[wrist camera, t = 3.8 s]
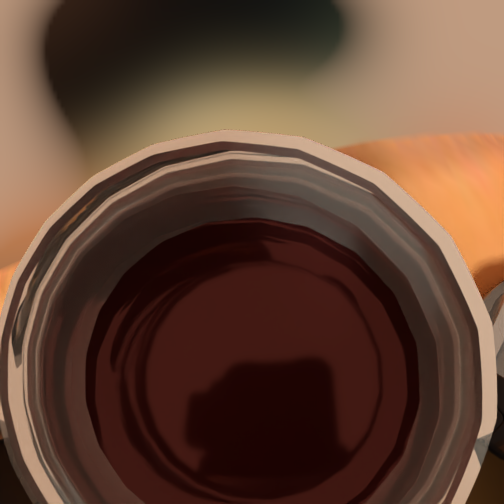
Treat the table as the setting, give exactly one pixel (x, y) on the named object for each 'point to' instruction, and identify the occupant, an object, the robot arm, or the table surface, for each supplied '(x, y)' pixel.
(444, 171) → the table surface
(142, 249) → the wineglass
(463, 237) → the table surface
